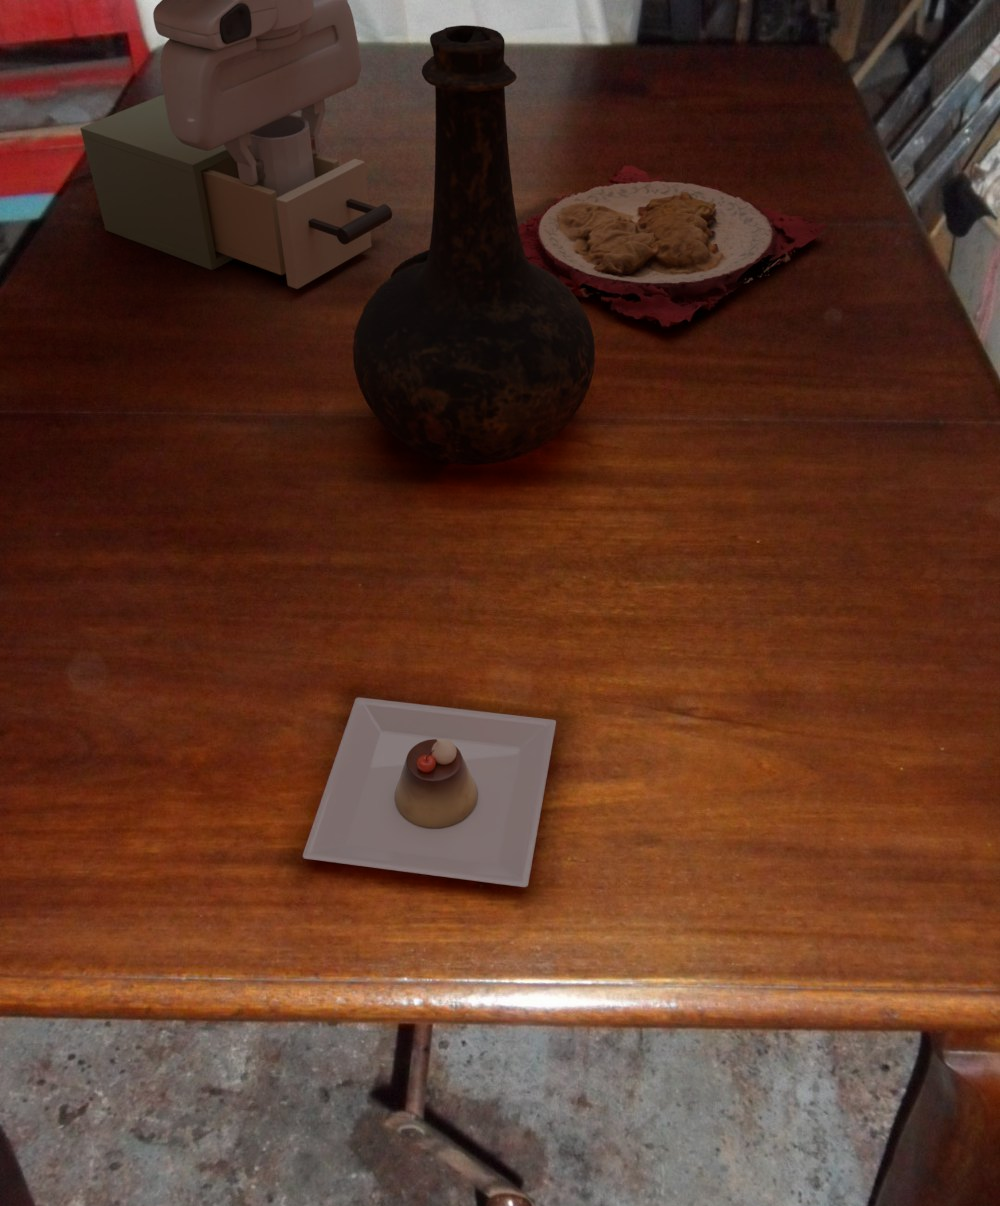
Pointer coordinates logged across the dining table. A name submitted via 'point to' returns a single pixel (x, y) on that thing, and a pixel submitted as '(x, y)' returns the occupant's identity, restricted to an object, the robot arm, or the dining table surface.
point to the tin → (284, 153)
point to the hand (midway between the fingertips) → (280, 168)
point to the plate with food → (659, 243)
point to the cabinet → (153, 183)
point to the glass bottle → (473, 292)
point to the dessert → (435, 792)
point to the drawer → (293, 219)
